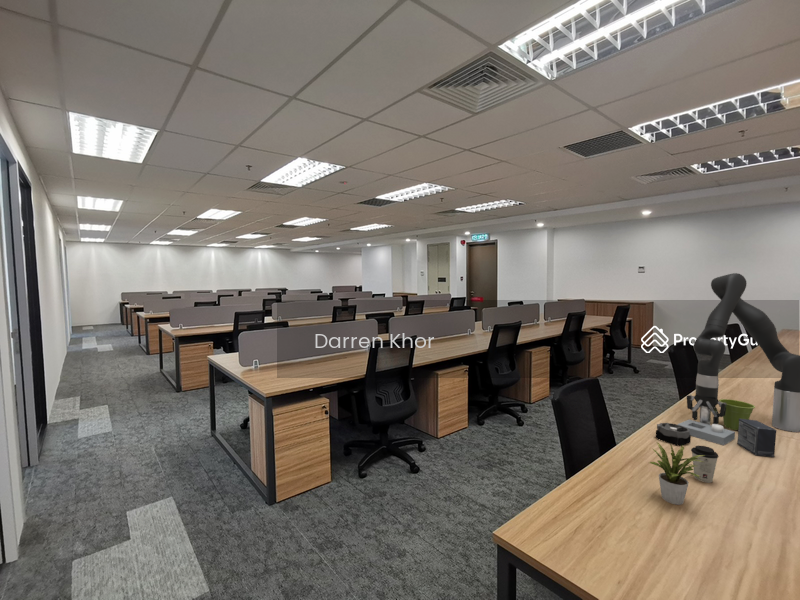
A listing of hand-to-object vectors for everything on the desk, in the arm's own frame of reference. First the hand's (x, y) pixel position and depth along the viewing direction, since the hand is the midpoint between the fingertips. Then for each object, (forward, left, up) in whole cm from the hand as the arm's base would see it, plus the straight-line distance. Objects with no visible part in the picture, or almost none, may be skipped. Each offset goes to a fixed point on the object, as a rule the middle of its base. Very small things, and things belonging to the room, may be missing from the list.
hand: (704, 422), depth 165 cm
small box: (+10, +19, -3) cm, 22 cm away
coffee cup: (+53, +17, -3) cm, 56 cm away
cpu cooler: (+27, -2, -3) cm, 27 cm away
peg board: (+9, +3, -3) cm, 10 cm away
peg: (0, 0, -3) cm, 3 cm away
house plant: (+76, +18, -3) cm, 78 cm away
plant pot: (-12, +7, -3) cm, 14 cm away
